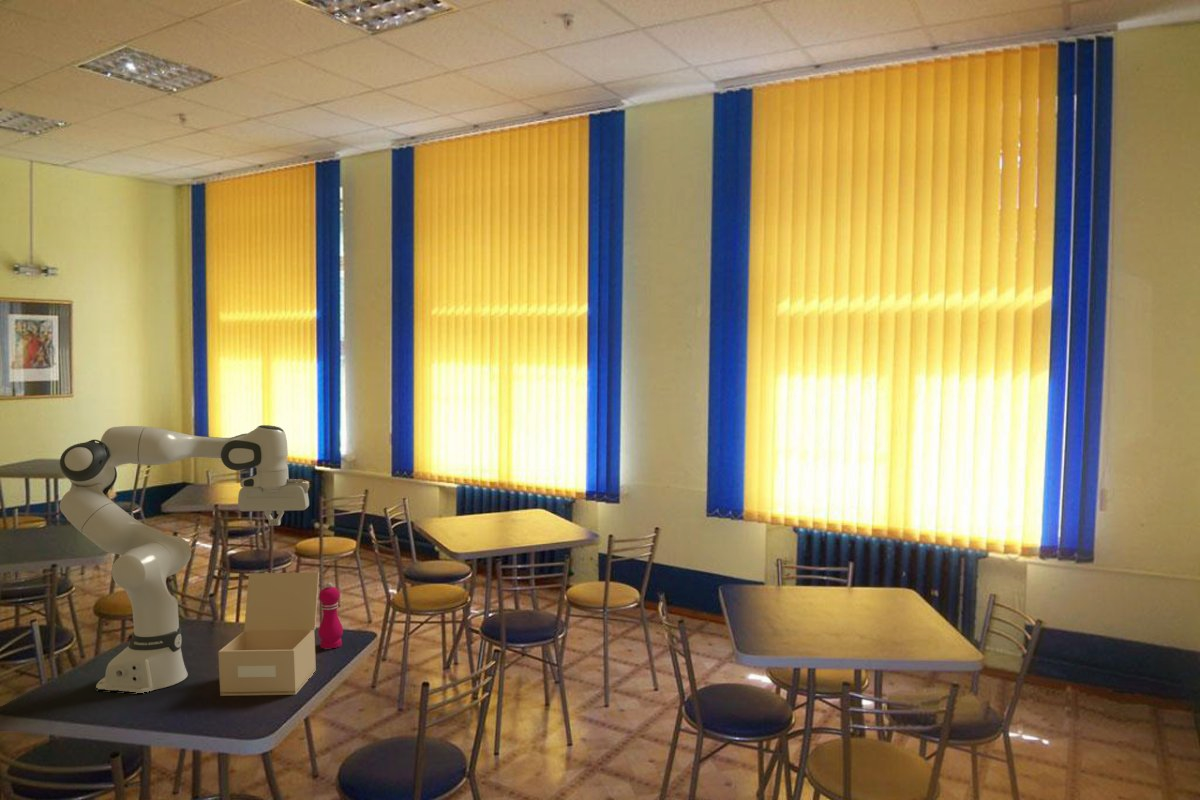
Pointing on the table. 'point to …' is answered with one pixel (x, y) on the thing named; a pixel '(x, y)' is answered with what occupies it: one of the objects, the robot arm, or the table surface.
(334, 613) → the pepper mill
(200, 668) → the table surface
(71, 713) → the table surface
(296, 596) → the carton lid
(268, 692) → the carton
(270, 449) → the robot arm
